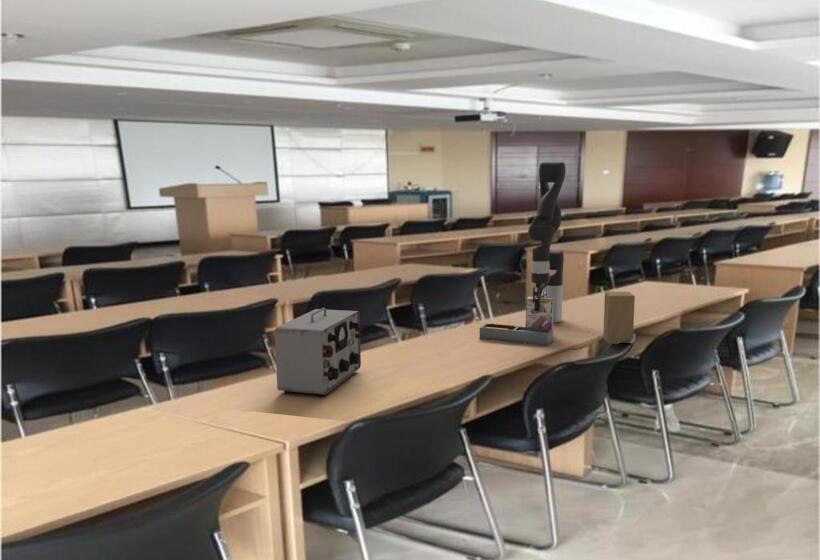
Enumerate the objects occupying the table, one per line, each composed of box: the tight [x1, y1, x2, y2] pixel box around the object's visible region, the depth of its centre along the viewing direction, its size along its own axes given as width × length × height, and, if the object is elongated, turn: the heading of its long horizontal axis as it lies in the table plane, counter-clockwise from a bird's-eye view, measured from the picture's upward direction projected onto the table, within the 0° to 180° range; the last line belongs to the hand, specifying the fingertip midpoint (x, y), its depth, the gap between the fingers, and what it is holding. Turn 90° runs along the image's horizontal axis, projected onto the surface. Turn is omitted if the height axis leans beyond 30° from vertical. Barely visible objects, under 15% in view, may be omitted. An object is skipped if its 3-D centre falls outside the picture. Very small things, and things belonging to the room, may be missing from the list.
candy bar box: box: [525, 296, 554, 330], centre depth 283 cm, size 11×5×16 cm, turn 71°
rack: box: [479, 322, 554, 347], centre depth 277 cm, size 8×29×5 cm, turn 65°
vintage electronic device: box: [274, 307, 365, 398], centre depth 222 cm, size 32×18×25 cm, turn 163°
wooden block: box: [602, 291, 636, 345], centre depth 272 cm, size 10×10×20 cm
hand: (539, 309), depth 282 cm, fingers open, 8 cm apart
